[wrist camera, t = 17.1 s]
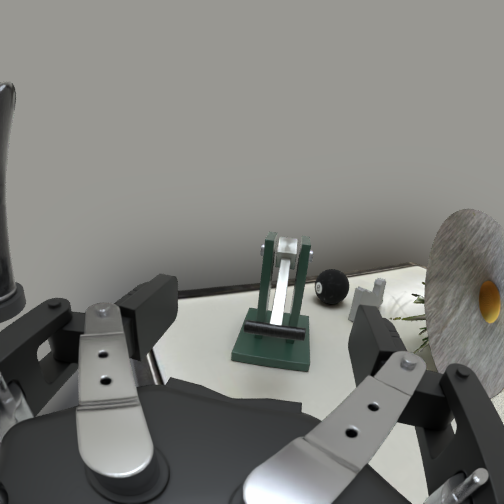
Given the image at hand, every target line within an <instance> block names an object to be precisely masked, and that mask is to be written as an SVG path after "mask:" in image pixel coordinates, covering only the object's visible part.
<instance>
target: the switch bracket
mask: <svg viewBox="0 0 504 504" xmlns="http://www.w3.org/2000/svg"><path fill="white" fill-rule="evenodd" d="M276 240H277V233H276V232H269V233H268V236H267V237H266V239H265V244H262V246H261V256H263V264H262V273H261V283H260V292H259V300H258V309H255V308H249V310H248V313H247V315H246V318H245V320H252V321H258V322H265V323H270V319H271V313H272V311H268V305H269V297H270V290H271V282H272V273H273V265H274V256H275V248H276ZM310 249H311V243H310V237H306V236H302V237H301V244H300V251H299V258H298V265H297V272H296V279H295V285H294V291H293V298H292V304H291V310H290V313H284V314H283V321H282V325H286V326H293V327H301V328H306V335H305V340H304V341H299V340H291V339H283V338H276V337H270V336H263V335H257V334H250V333H244V331H243V329H244V323H245V320H244V323H243V326H242V328H241V331H240V333H239V336H238V338H237V341H236V343H235V346H234V348H233V351H232V356H231V360H233V361H239V362H244V363H250V364H256V365H262V366H269V367H276V368H283V369H291V370H299V371H308V370H309V366H310V341H309V316H305V315H300V310H301V304H302V298H303V292H304V287H305V281H306V274H307V268H308V262H312V258H313V250H310Z"/></svg>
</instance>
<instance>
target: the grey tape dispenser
mask: <svg viewBox="0 0 504 504" xmlns="http://www.w3.org/2000/svg"><path fill="white" fill-rule="evenodd" d="M385 285H386V281H385V280H384V279H381V278H378V279H376V280H375V282H374V288H373V291H372V292H371V291H369V290H367V289H364V288H361V287H359V286H358V288H356V289H355V293H354V298H353V302H352V306H351V310H350V314H349V318H348V319H349V320H351V321H353V322H354V319H355V315H356V312H357V308H358V306H359V305H360V304H361V305H370V306H376V307H377V308H379V307H380V306H381V304H382V302H383V294H384V289H385Z"/></svg>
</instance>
